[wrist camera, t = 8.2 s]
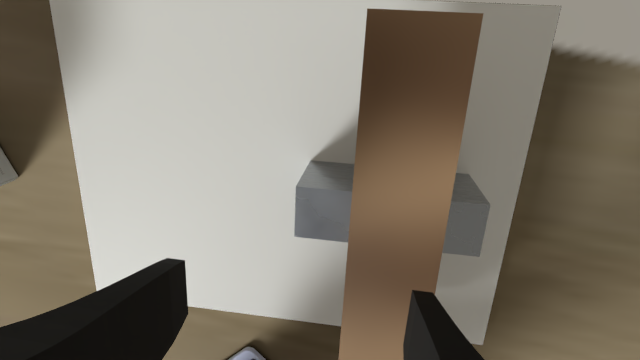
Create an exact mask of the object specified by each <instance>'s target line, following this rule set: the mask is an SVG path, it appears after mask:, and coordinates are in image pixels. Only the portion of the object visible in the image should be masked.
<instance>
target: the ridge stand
mask: <svg viewBox="0 0 640 360" xmlns="http://www.w3.org/2000/svg"><path fill="white" fill-rule="evenodd" d="M49 2H50V8H51V14H52V20H53V26H54V32H55V39H56V45H57V51H58V57H59V63H60V69H61V75H62V81H63V87H64V94H65V100H66V106H67V112H68V118H69V124H70V130H71V136H72V143H73V149H74V155H75V161H76V167H77V173H78V179H79V185H80V191H81V198H82V204H83V210H84V216H85V222H86V228H87V234H88V240H89V247H90V253H91V259H92V265H93V271H94V277H95V283H96V289H97V291H98V290H101V289H103V288H105V287H107V286H109V285H111V284H113V283H115V282H117V281H119V280H121V279H124V278H126V277H128V276H130V275H132V274H134V273H136V272H138V271H140V270H142V269H144V268H146V267H148V266H150V265H152V264H154V263H156V262H158V261H161V260H163V259H166V258H171V259H179V260H185V269H186V286H187V303H188V306H191V307H199V308H207V309H214V310H222V311H229V312H237V313H244V314H252V315H259V316H267V317H274V318H282V319H289V320H297V321H305V322H312V323H320V324H327V325H335V326H341V323H342V311H343V298H344V286H345V274H346V262H347V250H348V238H349V225H350V213H351V201H352V189H353V177H354V164H355V152H356V140H357V128H358V116H359V104H360V91H361V79H362V67H363V55H364V43H365V31H366V18H367V8H369V9H392V10H416V11H439V12H462V13H484V14H483V19H482V25H481V31H480V37H479V42H478V48H477V54H476V60H475V66H474V71H473V77H472V83H471V89H470V94H469V100H468V106H467V112H466V118H465V123H464V129H463V135H462V141H461V147H460V152H459V158H458V164H457V170H456V175H455V181H454V187H453V193H452V199H451V204H450V210H449V216H448V222H447V227H446V233H445V239H444V245H443V251H442V256H441V262H440V268H439V274H438V280H437V285H436V291H435V296H436V297H437V299H438V300H439V302H440V303H441V305H442V306H443V307H444V309H445V310H446V312H447V313H448V314H449V316H450V317H451V319H452V320H453V321H454V323H455V324H456V325H457V327H458V328H459V329H460V331H461V332H462V333H463V335H464V336H465V337H466V338H467V340H468V341H469V342H470V343H471V344H478V345H483V342H484V337H485V333H486V329H487V324H488V320H489V316H490V312H491V307H492V303H493V299H494V294H495V290H496V286H497V281H498V277H499V273H500V268H501V264H502V260H503V256H504V251H505V247H506V243H507V238H508V234H509V230H510V225H511V221H512V217H513V213H514V208H515V204H516V200H517V195H518V191H519V187H520V182H521V178H522V174H523V170H524V165H525V161H526V157H527V152H528V148H529V144H530V139H531V135H532V131H533V126H534V122H535V118H536V114H537V109H538V105H539V101H540V96H541V92H542V88H543V83H544V79H545V75H546V71H547V66H548V62H549V58H550V53H551V49H552V45H553V40H554V36H555V32H556V27H557V23H558V19H559V15H560V10H561V6H550V5H525V4H501V3H476V2H451V1H449V2H448V1H425V0H49Z"/></svg>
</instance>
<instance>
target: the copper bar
mask: <svg viewBox="0 0 640 360" xmlns="http://www.w3.org/2000/svg"><path fill="white" fill-rule="evenodd" d="M483 14H484V13H462V12H439V11H416V10H392V9H369V8H367V18H366V31H365V43H364V55H363V67H362V79H361V91H360V104H359V116H358V128H357V140H356V152H355V164H354V177H353V189H352V201H351V213H350V225H349V238H348V250H347V262H346V274H345V286H344V298H343V311H342V323H341V335H340V347H339V359H338V360H404V359H403V342H404V336H405V330H406V324H407V318H408V312H409V306H410V300H411V293H412V290H418V291H425V292H433V293H434V295H435V291H436V285H437V280H438V274H439V268H440V262H441V256H442V251H443V245H444V239H445V233H446V227H447V222H448V216H449V210H450V204H451V199H452V193H453V187H454V181H455V175H456V170H457V164H458V158H459V152H460V147H461V141H462V135H463V129H464V123H465V118H466V112H467V106H468V100H469V94H470V89H471V83H472V77H473V71H474V66H475V60H476V54H477V48H478V42H479V37H480V31H481V25H482V19H483Z"/></svg>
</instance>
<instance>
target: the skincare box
mask: <svg viewBox="0 0 640 360" xmlns="http://www.w3.org/2000/svg"><path fill="white" fill-rule="evenodd" d="M17 178H18V175H17V173H16V172H15V170H14V169H13V167H12V165H11V164H10V162H9V160H8V159H7V157H6V155H5V154H4V152H3V150H2V149H1V147H0V186H1V185H4V184H6V183H9V182H11V181H13V180H15V179H17Z"/></svg>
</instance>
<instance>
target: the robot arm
mask: <svg viewBox="0 0 640 360" xmlns="http://www.w3.org/2000/svg"><path fill="white" fill-rule="evenodd" d="M187 315H188V303H187V286H186V269H185V260H179V259H171V258H166V259H163V260H161V261H158V262H156V263H154V264H152V265H150V266H148V267H146V268H144V269H142V270H140V271H138V272H136V273H134V274H132V275H130V276H128V277H126V278H124V279H121V280H119V281H117V282H115V283H113V284H111V285H109V286H107V287H105V288H103V289H101V290H98V291H96V292H94V293H92V294H89V295H87V296H85V297H83V298H81V299H78V300H76V301H74V302H72V303H69V304H67V305H64V306H62V307H59V308H57V309H54V310H51V311H49V312H46V313H43V314H40V315H38V316H35V317H32V318H29V319H26V320H23V321H20V322H16V323H13V324H10V325H7V326H3V327H0V360H162V359H163V357H164V356H165V354H166V353H167V351H168V350H169V348H170V347H171V345H172V344H173V342H174V341H175V339H176V337H177V335H178V333H179V331H180V329H181V327H182V325H183V323H184V321H185V319H186V317H187ZM253 359H256V360H266V359H265V358H264V357H263V356H261V355H260V354H259V353H258V352H257V351H256V350H255V349H254V348H252V347H246V348H244V349H242V350H241V351H240V352H238V353H237V354H235V355H234V356H232V357H231V358H229V359H228V360H253ZM403 359H404V360H484V359H483V357H482V356H481V355H480V354H479V353H478V352H477V351H476V350H475V348H474V347H473V346H472V345H471V343H470V342H469V341H468V340H467V338H466V337H465V336H464V335H463V333H462V332H461V331H460V329H459V328H458V327H457V325H456V324H455V323H454V321H453V320H452V319H451V317H450V316H449V314H448V313H447V312H446V310H445V309H444V307H443V306H442V305H441V303H440V302H439V300H438V299H437V297H436V296H435V295H434V293H433V292H425V291H418V290H412V293H411V300H410V306H409V312H408V318H407V324H406V330H405V336H404V342H403Z"/></svg>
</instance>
